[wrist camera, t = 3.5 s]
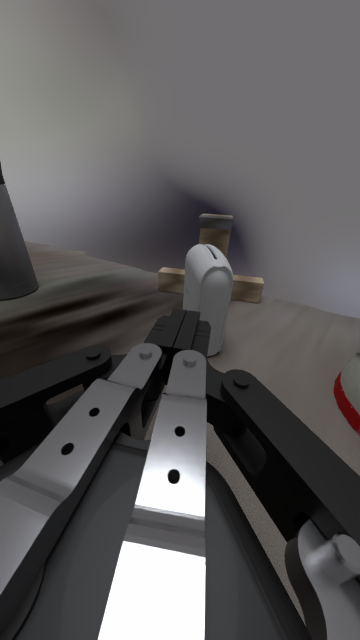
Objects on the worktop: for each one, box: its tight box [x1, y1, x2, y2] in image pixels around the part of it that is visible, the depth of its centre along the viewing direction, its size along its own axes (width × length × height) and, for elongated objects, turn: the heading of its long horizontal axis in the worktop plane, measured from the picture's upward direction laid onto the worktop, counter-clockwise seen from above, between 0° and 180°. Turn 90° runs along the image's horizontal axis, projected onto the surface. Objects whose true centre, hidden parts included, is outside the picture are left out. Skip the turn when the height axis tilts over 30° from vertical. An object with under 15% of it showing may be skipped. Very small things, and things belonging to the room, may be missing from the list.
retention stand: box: [159, 214, 264, 303], centre depth 37 cm, size 20×7×14 cm, turn 79°
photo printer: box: [183, 244, 233, 356], centre depth 27 cm, size 10×4×12 cm, turn 8°
